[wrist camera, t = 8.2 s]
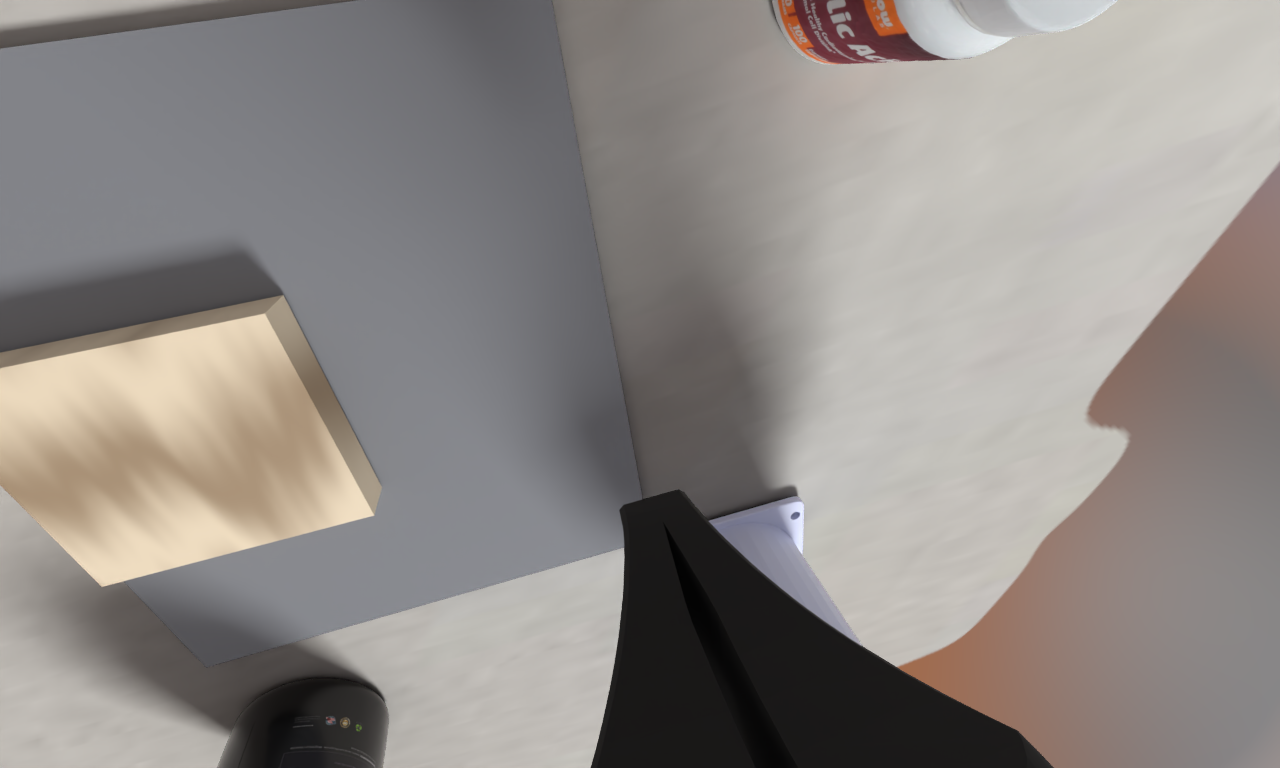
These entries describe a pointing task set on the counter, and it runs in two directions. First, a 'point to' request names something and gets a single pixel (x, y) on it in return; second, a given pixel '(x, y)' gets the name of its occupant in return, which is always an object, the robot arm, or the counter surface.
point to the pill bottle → (920, 26)
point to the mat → (342, 278)
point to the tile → (179, 440)
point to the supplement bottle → (310, 728)
